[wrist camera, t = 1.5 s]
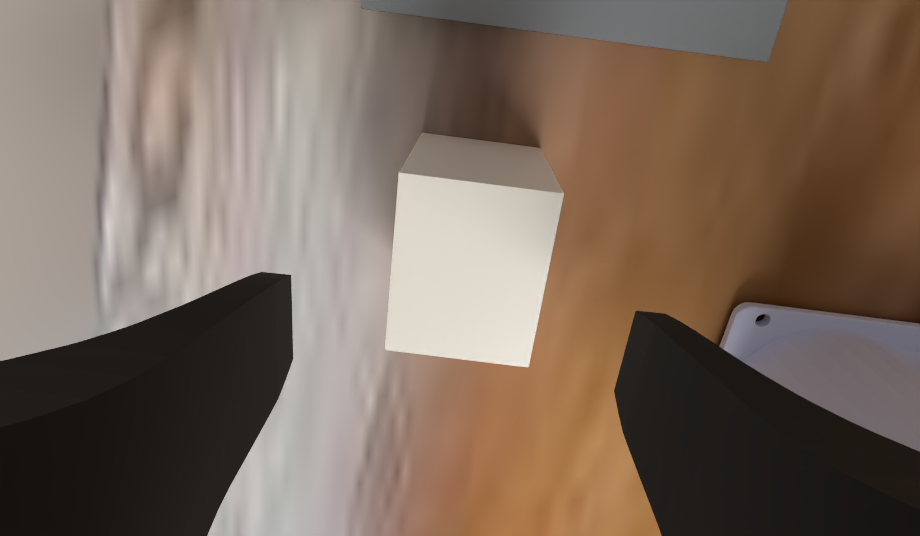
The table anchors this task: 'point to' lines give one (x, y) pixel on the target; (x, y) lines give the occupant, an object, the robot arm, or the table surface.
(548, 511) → the table surface
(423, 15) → the rail board
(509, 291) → the block
